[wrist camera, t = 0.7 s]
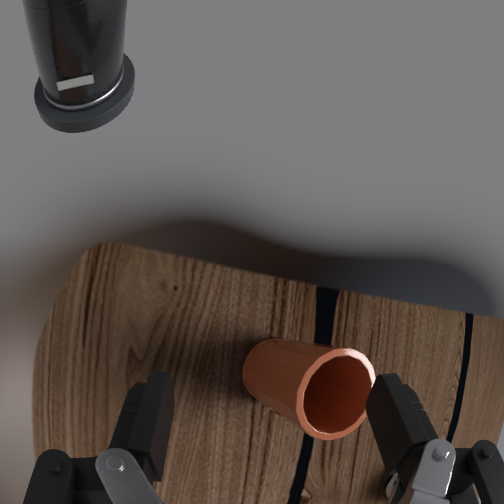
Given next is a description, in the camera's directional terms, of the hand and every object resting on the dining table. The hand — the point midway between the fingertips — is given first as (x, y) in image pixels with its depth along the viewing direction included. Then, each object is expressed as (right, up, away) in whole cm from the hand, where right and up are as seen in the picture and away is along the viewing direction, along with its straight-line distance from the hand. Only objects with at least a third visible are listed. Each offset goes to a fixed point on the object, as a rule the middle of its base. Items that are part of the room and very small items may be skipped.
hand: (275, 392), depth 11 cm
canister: (+1, -5, +15) cm, 16 cm away
